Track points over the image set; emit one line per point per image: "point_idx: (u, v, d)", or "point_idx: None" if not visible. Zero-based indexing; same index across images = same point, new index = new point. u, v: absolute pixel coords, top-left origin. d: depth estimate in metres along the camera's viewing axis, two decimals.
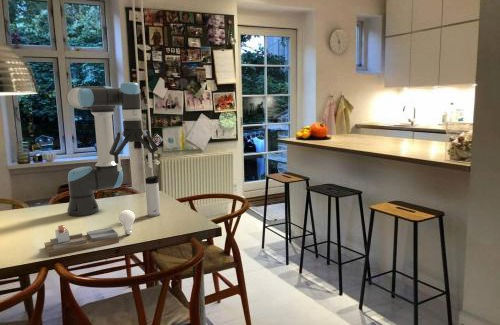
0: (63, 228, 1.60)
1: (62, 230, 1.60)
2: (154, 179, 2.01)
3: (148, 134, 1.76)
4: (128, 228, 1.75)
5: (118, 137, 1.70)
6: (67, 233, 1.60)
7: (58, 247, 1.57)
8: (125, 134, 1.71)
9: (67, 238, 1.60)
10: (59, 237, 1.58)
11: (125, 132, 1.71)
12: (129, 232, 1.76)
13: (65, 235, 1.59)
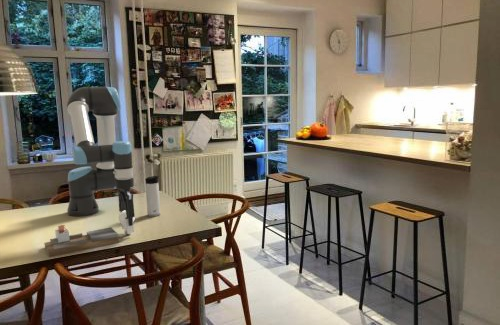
0: (63, 228, 1.60)
1: (62, 230, 1.60)
2: (154, 179, 2.01)
3: (126, 198, 1.69)
4: None
5: (118, 194, 1.79)
6: (67, 233, 1.60)
7: (58, 247, 1.57)
8: (120, 190, 1.77)
9: (67, 238, 1.60)
10: (59, 237, 1.58)
11: (120, 189, 1.77)
12: None
13: (65, 235, 1.59)
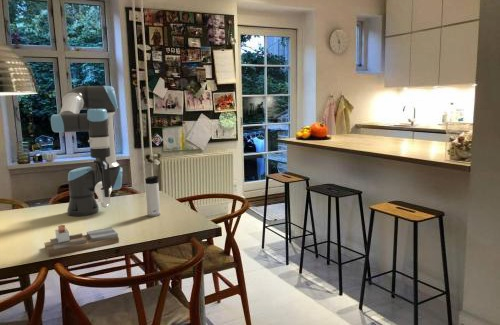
0: (63, 228, 1.60)
1: (62, 230, 1.60)
2: (154, 179, 2.01)
3: (102, 168, 1.61)
4: None
5: (94, 165, 1.71)
6: (67, 233, 1.60)
7: (58, 247, 1.57)
8: (96, 161, 1.69)
9: (67, 238, 1.60)
10: (59, 237, 1.58)
11: None
12: None
13: (65, 235, 1.59)
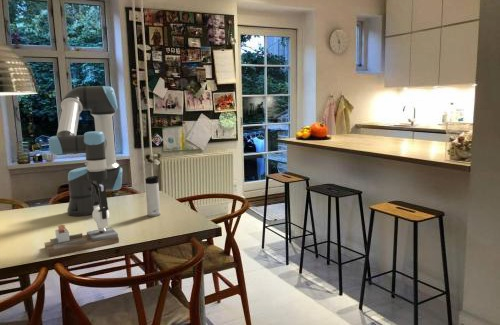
0: (63, 228, 1.60)
1: (62, 230, 1.60)
2: (154, 179, 2.01)
3: (99, 190, 1.61)
4: None
5: (91, 186, 1.71)
6: (67, 233, 1.60)
7: (58, 247, 1.57)
8: (93, 183, 1.69)
9: (67, 238, 1.60)
10: (59, 237, 1.58)
11: (93, 181, 1.69)
12: (103, 229, 1.69)
13: (65, 235, 1.59)
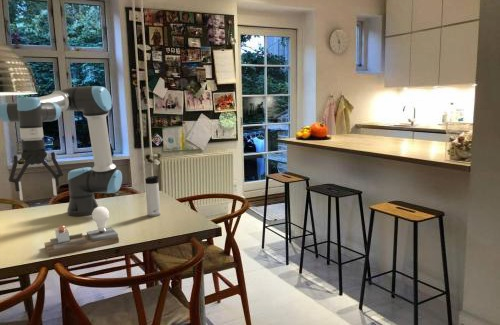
0: (63, 228, 1.60)
1: (62, 230, 1.60)
2: (154, 179, 2.01)
3: (53, 156, 1.55)
4: (102, 225, 1.68)
5: (15, 161, 1.48)
6: (67, 233, 1.60)
7: (58, 247, 1.57)
8: (23, 156, 1.50)
9: (67, 238, 1.60)
10: (59, 237, 1.58)
11: (23, 154, 1.50)
12: (103, 230, 1.69)
13: (65, 235, 1.59)
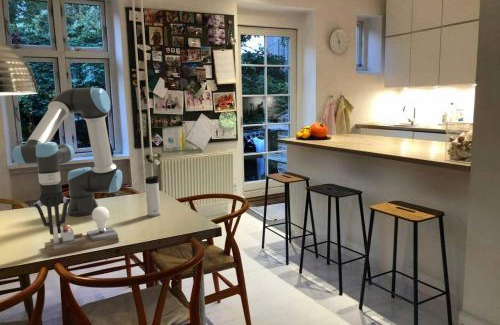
0: (68, 227, 1.61)
1: (67, 229, 1.61)
2: (154, 179, 2.01)
3: (67, 203, 1.60)
4: (102, 225, 1.68)
5: (38, 208, 1.55)
6: (72, 232, 1.61)
7: (58, 247, 1.57)
8: (42, 200, 1.55)
9: (72, 237, 1.61)
10: (64, 236, 1.59)
11: (41, 199, 1.55)
12: (103, 230, 1.69)
13: (70, 234, 1.60)
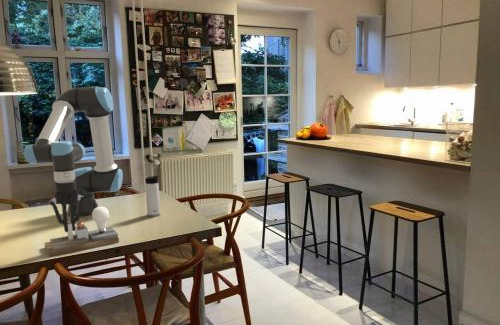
0: (82, 225, 1.64)
1: (81, 227, 1.64)
2: (154, 179, 2.01)
3: (81, 200, 1.63)
4: (102, 225, 1.68)
5: (54, 205, 1.57)
6: (86, 230, 1.63)
7: (58, 247, 1.57)
8: (57, 198, 1.58)
9: (86, 234, 1.64)
10: (78, 233, 1.62)
11: (56, 196, 1.58)
12: (103, 230, 1.69)
13: (84, 231, 1.63)
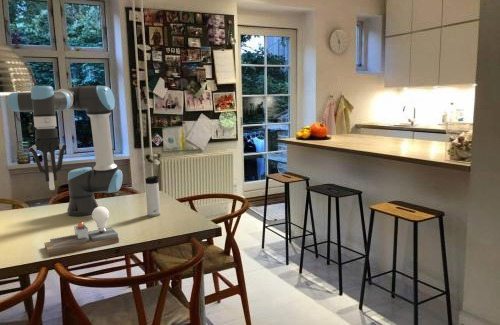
0: (82, 225, 1.64)
1: (81, 227, 1.64)
2: (154, 179, 2.01)
3: (63, 149, 1.57)
4: (102, 225, 1.68)
5: (34, 152, 1.51)
6: (86, 229, 1.63)
7: (58, 247, 1.57)
8: (38, 145, 1.52)
9: (86, 234, 1.64)
10: (78, 233, 1.62)
11: (36, 143, 1.52)
12: (103, 230, 1.69)
13: (84, 231, 1.63)
